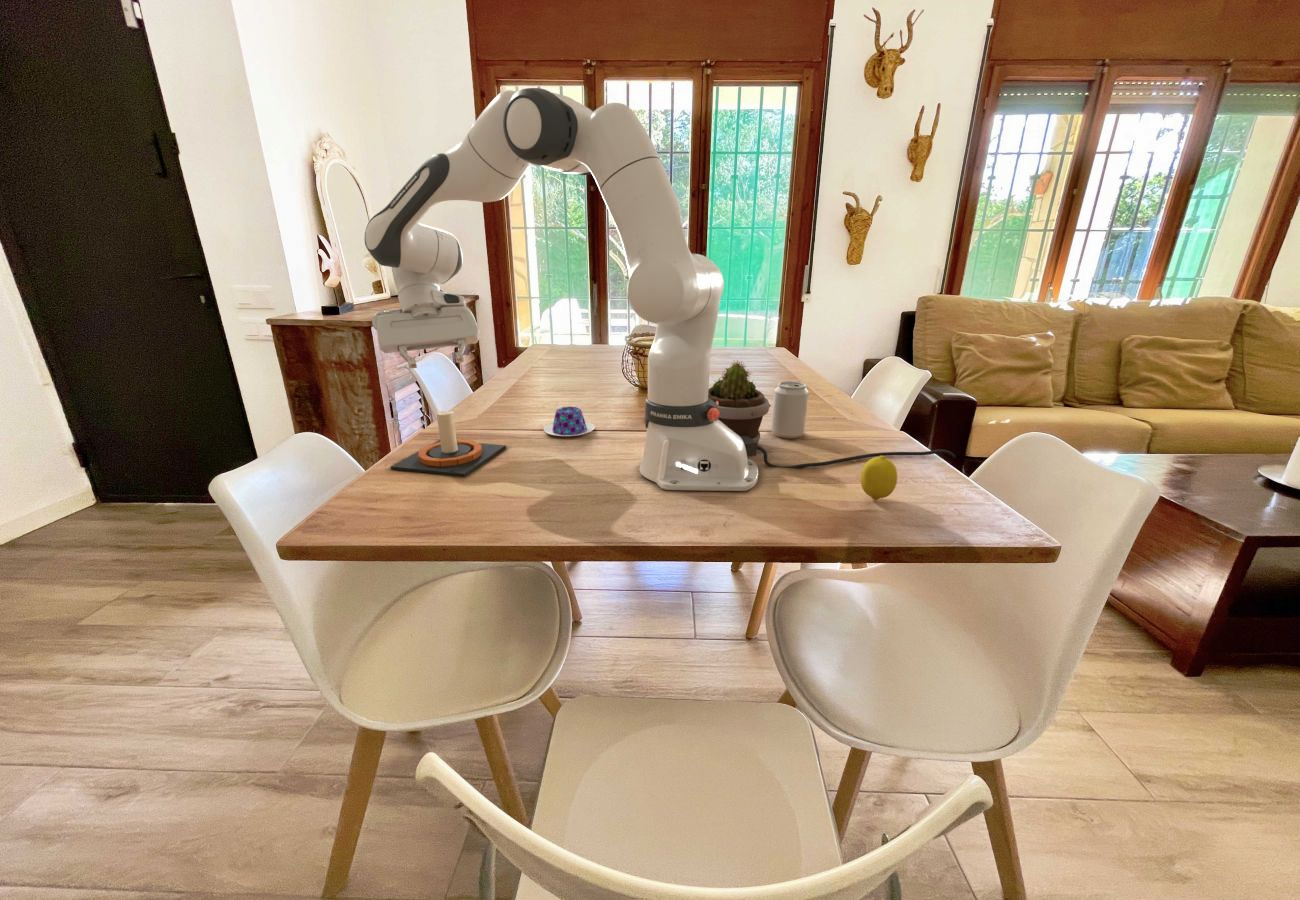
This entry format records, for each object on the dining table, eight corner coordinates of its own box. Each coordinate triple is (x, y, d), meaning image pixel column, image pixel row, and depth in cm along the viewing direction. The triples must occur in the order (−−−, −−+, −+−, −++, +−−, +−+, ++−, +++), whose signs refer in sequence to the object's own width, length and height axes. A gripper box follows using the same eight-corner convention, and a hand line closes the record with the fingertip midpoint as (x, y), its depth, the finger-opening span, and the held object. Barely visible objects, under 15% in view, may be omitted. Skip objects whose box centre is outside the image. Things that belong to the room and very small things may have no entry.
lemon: (890, 510, 83) (898, 464, 81) (854, 502, 86) (861, 457, 83) (895, 497, 88) (903, 453, 85) (861, 490, 91) (867, 447, 88)
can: (808, 432, 120) (813, 382, 116) (798, 441, 114) (803, 388, 110) (776, 427, 124) (781, 378, 120) (765, 435, 118) (770, 384, 114)
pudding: (534, 436, 118) (532, 414, 116) (558, 421, 129) (556, 401, 127) (582, 441, 115) (581, 418, 113) (602, 425, 125) (602, 404, 124)
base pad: (506, 447, 111) (505, 440, 110) (464, 476, 96) (463, 467, 96) (440, 442, 114) (439, 434, 114) (390, 469, 100) (389, 460, 99)
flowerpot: (700, 432, 120) (703, 346, 113) (767, 437, 117) (775, 349, 110) (690, 454, 107) (693, 358, 100) (766, 460, 104) (774, 362, 97)
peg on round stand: (478, 450, 108) (473, 408, 105) (457, 464, 101) (450, 420, 97) (444, 447, 110) (438, 406, 106) (421, 460, 102) (413, 417, 99)
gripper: (367, 303, 105) (380, 363, 102) (471, 295, 114) (486, 350, 110) (371, 320, 111) (384, 377, 107) (470, 312, 119) (484, 364, 116)
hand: (437, 364), depth 109 cm, fingers open, 8 cm apart
